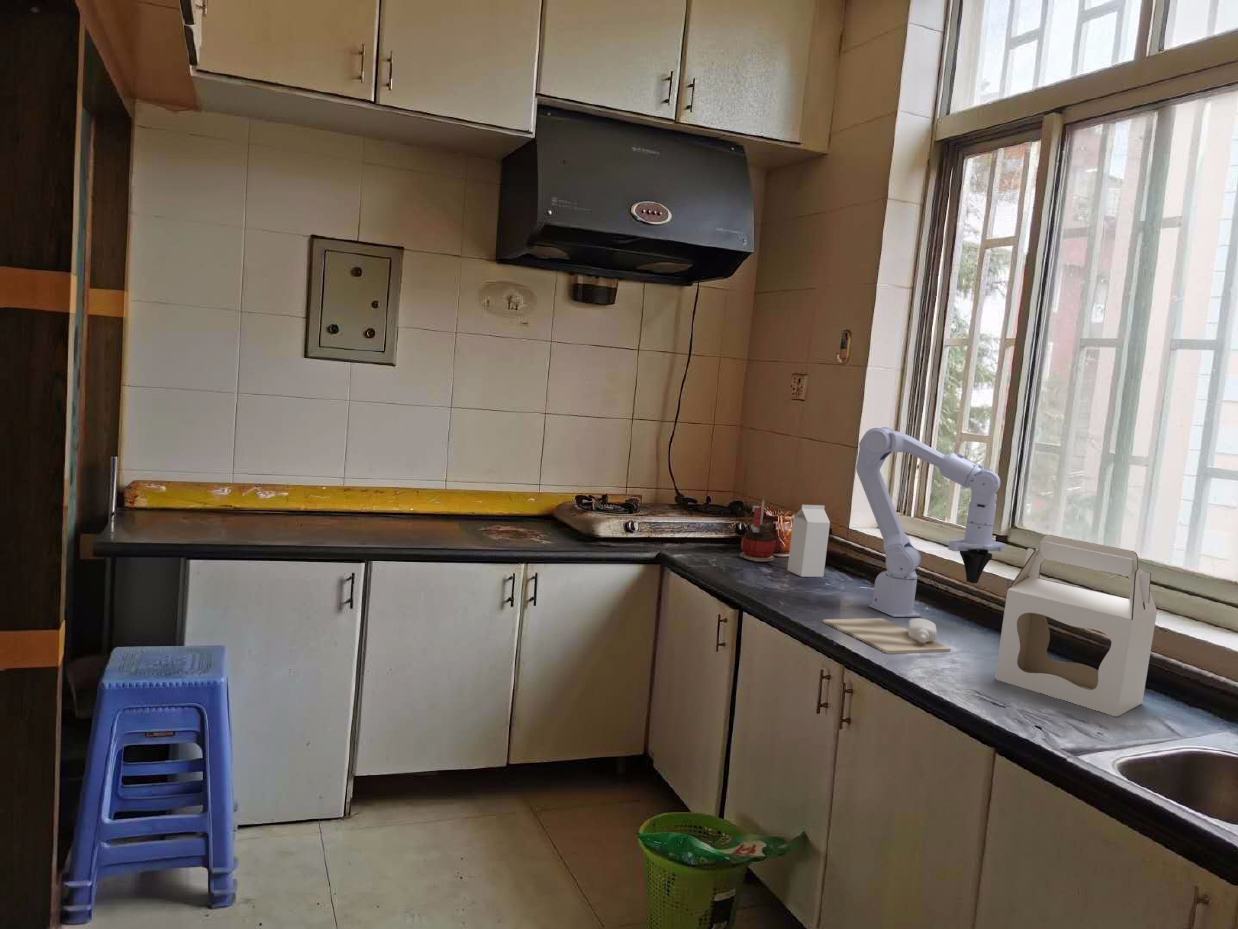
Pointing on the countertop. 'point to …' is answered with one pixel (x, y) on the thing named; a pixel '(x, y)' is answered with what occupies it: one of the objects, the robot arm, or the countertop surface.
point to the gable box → (1078, 607)
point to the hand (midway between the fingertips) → (971, 582)
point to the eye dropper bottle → (922, 630)
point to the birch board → (884, 635)
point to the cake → (758, 539)
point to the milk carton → (809, 541)
